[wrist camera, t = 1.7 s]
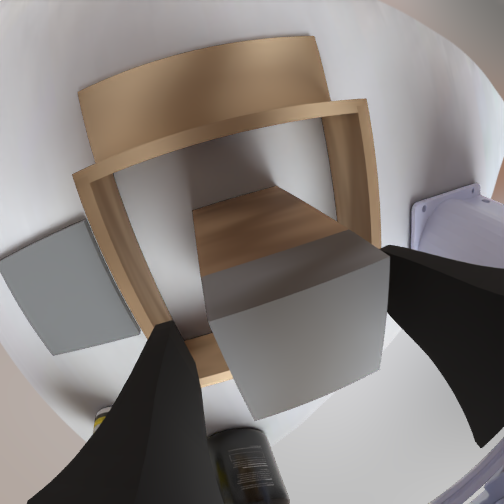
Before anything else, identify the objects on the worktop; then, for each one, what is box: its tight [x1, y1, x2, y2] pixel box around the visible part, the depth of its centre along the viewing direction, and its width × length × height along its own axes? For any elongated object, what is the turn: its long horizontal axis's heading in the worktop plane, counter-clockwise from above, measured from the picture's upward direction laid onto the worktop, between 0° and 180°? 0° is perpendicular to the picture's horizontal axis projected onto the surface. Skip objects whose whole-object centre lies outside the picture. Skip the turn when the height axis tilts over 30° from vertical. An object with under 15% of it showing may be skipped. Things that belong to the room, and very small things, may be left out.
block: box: [192, 186, 390, 421], centre depth 11 cm, size 4×4×9 cm
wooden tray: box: [72, 36, 381, 388], centre depth 13 cm, size 12×20×4 cm, turn 13°
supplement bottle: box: [207, 428, 290, 504], centre depth 18 cm, size 7×7×12 cm
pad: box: [0, 219, 141, 356], centre depth 13 cm, size 8×8×1 cm
